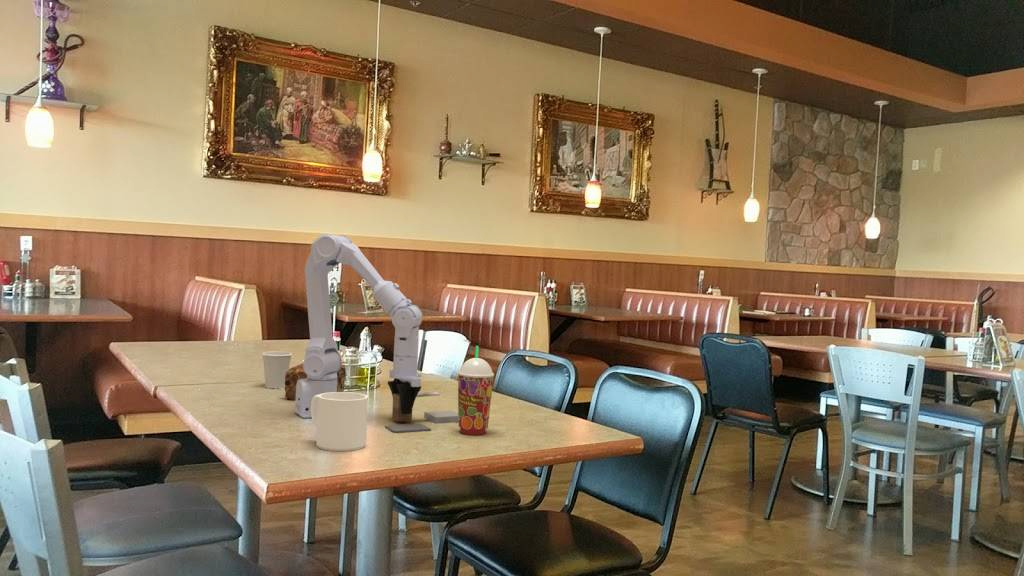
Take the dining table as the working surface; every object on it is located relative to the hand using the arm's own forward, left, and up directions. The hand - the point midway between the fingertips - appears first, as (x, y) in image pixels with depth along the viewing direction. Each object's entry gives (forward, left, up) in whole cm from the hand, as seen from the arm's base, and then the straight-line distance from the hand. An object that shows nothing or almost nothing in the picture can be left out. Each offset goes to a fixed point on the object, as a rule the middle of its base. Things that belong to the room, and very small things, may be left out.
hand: (402, 412), depth 186 cm
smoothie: (+11, -15, -3) cm, 19 cm away
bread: (-10, +38, -3) cm, 40 cm away
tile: (+7, 0, -2) cm, 7 cm away
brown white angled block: (+3, 0, -2) cm, 4 cm away
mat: (-2, -8, -2) cm, 8 cm away
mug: (-22, -17, -3) cm, 28 cm away
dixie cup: (-17, +55, -3) cm, 58 cm away
